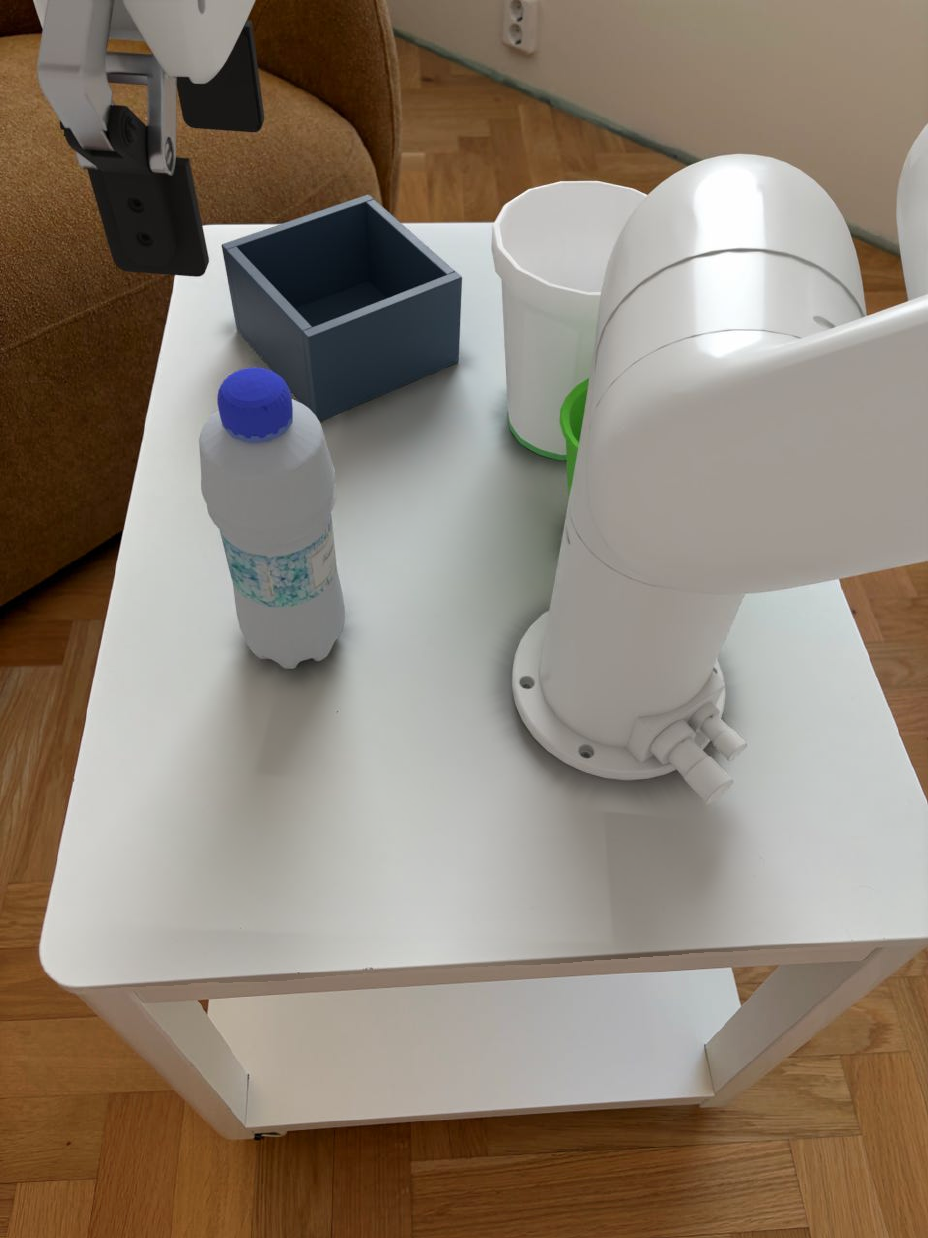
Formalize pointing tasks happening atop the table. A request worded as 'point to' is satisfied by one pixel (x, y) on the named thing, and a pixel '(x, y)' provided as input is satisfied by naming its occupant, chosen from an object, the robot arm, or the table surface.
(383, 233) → the bin
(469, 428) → the table surface
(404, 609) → the table surface
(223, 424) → the bottle
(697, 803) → the table surface
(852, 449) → the robot arm
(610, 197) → the cup
